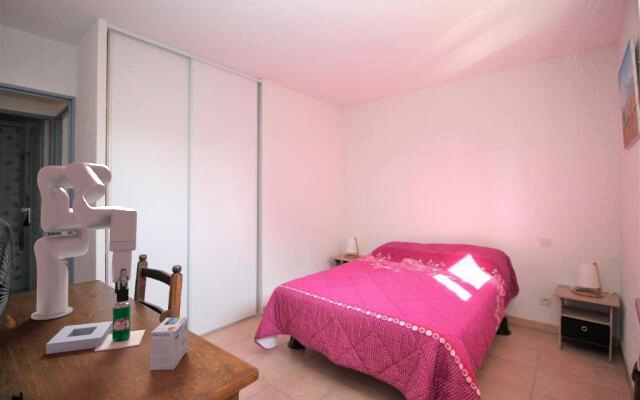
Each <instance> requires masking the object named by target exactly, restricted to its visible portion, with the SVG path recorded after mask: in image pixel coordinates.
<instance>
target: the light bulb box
mask: <svg viewBox="0 0 640 400" xmlns="http://www.w3.org/2000/svg"><path fill="white" fill-rule="evenodd" d="M188 321H189V318H188V317H186V316H182V317H173V318H166V319H165V320H164V321H163V322H162V323H160V324H159V325H157V326H156V327H155V328H154V329H153V330H152V331H150V370H151V371H152V370H153V371H157V370H160V371H161V370H162V371H163V370H164V371H165V370H166V371H167V370H169V371H170V370H175V368H176V367H177V365H178V364H179V363H180V362H181V360H182V359H183V357H184V356H185V355H186V353H187V352H188Z"/></svg>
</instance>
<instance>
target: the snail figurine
mask: <svg viewBox="0 0 640 400" xmlns="http://www.w3.org/2000/svg"><path fill="white" fill-rule="evenodd" d="M172 304H173V305H171V308H170V309H171V310H170V309H165V310H163V311H162V312H161V313H160V315H159V318H158V320H159V322H160V324H161V323H162V322H163V321H164V320H165V319H166V318H175V311H176V309H177V307H176V304H177V302H175V301H173V302H172Z"/></svg>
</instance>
